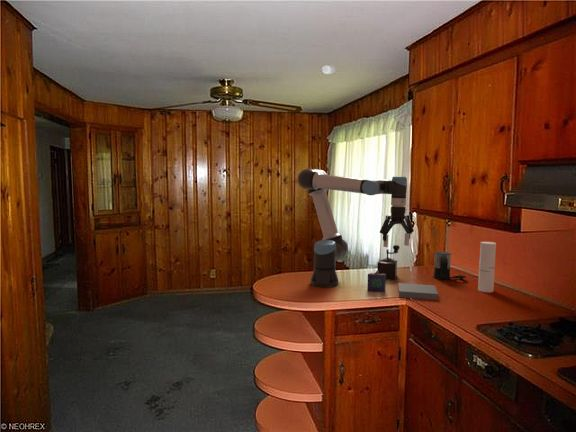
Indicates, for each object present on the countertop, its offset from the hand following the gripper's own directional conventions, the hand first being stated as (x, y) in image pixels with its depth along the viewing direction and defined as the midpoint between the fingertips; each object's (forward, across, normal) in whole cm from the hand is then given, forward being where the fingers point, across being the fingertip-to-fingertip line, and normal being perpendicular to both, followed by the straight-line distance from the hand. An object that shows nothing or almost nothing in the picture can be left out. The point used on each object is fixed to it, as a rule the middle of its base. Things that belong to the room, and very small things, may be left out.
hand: (396, 246), depth 213 cm
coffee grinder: (+22, +11, +19) cm, 32 cm away
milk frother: (+22, +40, +1) cm, 46 cm away
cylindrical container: (+21, +40, -24) cm, 51 cm away
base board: (+22, +2, -15) cm, 26 cm away
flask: (+22, -13, -2) cm, 26 cm away
